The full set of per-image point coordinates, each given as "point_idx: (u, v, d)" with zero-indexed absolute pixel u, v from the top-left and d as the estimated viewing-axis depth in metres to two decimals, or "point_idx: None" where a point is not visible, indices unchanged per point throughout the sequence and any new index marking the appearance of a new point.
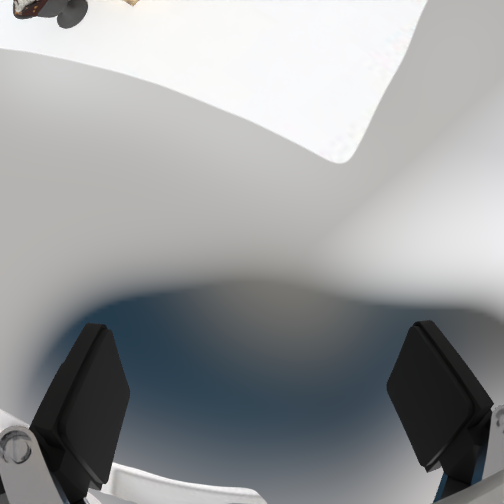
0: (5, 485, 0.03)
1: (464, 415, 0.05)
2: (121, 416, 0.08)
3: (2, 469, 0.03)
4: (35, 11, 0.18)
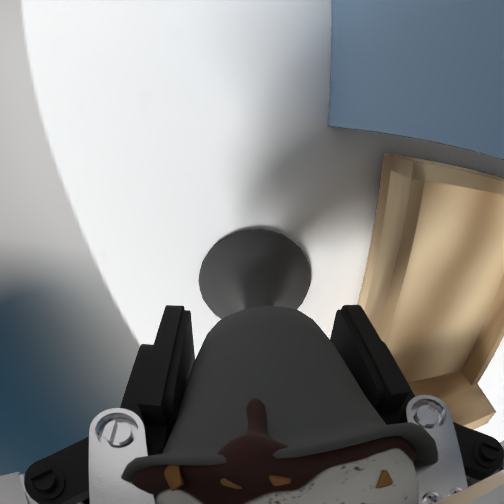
0: (91, 465, 0.04)
1: None
2: None
3: (91, 447, 0.05)
4: None
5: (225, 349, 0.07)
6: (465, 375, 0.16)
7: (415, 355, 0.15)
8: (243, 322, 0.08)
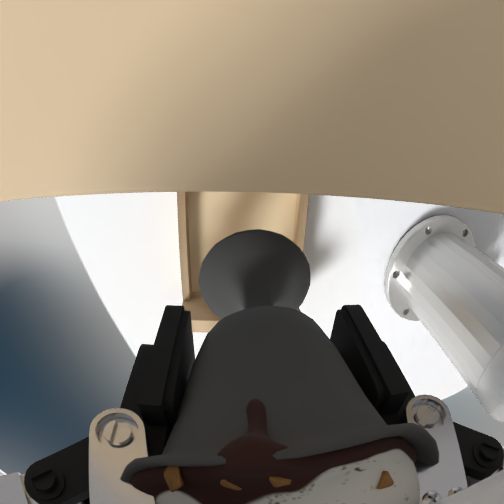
0: (91, 465, 0.04)
1: None
2: None
3: (92, 447, 0.05)
4: None
5: (225, 349, 0.07)
6: None
7: None
8: (243, 322, 0.08)
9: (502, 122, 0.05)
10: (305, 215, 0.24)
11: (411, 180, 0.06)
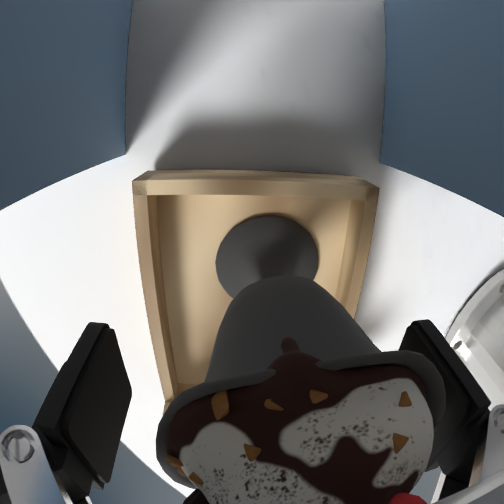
0: (7, 484, 0.03)
1: (462, 414, 0.05)
2: (123, 415, 0.08)
3: (4, 468, 0.03)
4: None
5: (253, 307, 0.08)
6: None
7: None
8: (266, 286, 0.09)
9: None
10: (358, 290, 0.14)
11: None
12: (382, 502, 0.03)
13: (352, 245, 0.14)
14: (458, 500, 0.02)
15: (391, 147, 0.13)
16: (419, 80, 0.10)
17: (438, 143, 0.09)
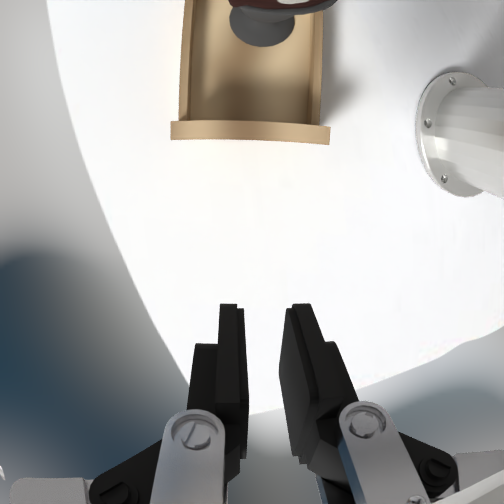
0: (159, 464, 0.04)
1: None
2: None
3: (163, 445, 0.05)
4: None
5: None
6: (308, 123, 0.21)
7: (240, 90, 0.21)
8: None
9: None
10: (321, 26, 0.17)
11: None
12: None
13: None
14: (458, 500, 0.02)
15: None
16: None
17: None
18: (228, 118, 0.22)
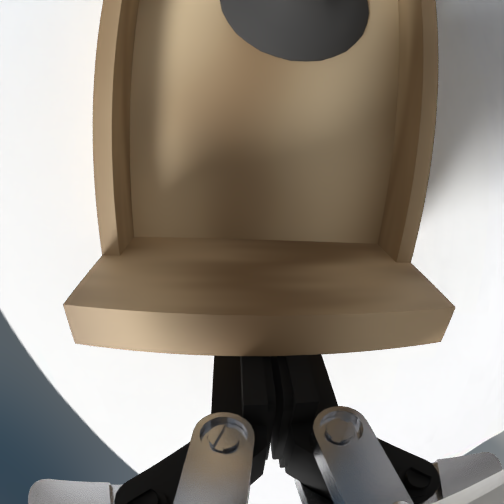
0: (186, 466, 0.04)
1: None
2: None
3: (191, 447, 0.05)
4: None
5: None
6: (384, 248, 0.10)
7: (242, 169, 0.10)
8: None
9: None
10: (434, 30, 0.06)
11: None
12: None
13: None
14: (458, 500, 0.02)
15: None
16: None
17: None
18: (215, 233, 0.10)
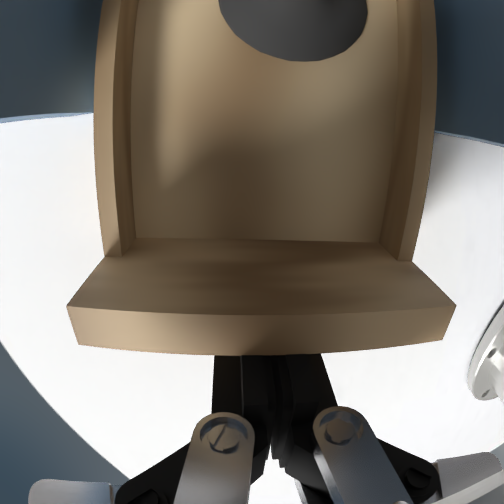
0: (186, 466, 0.04)
1: None
2: None
3: (191, 447, 0.05)
4: None
5: None
6: (386, 247, 0.10)
7: (243, 169, 0.10)
8: None
9: None
10: (433, 28, 0.06)
11: None
12: None
13: None
14: (458, 500, 0.02)
15: (437, 107, 0.09)
16: (471, 23, 0.06)
17: None
18: (217, 234, 0.11)
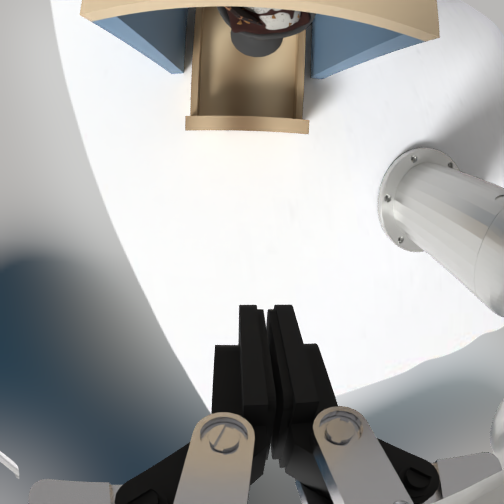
0: (186, 466, 0.04)
1: None
2: None
3: (191, 447, 0.05)
4: (240, 26, 0.15)
5: None
6: (293, 118, 0.27)
7: (239, 92, 0.26)
8: None
9: None
10: (304, 39, 0.23)
11: None
12: None
13: None
14: (458, 500, 0.02)
15: (313, 67, 0.25)
16: (319, 33, 0.22)
17: (324, 54, 0.22)
18: (229, 114, 0.27)
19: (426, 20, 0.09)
